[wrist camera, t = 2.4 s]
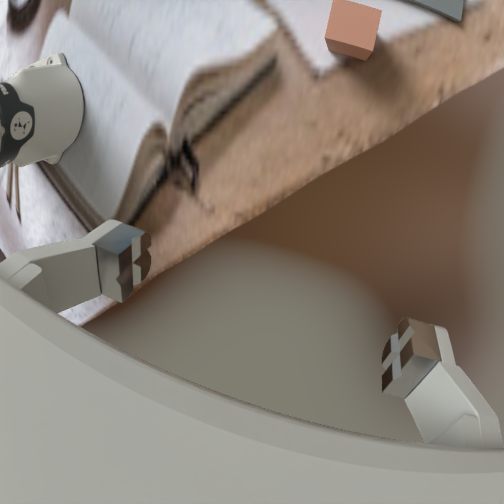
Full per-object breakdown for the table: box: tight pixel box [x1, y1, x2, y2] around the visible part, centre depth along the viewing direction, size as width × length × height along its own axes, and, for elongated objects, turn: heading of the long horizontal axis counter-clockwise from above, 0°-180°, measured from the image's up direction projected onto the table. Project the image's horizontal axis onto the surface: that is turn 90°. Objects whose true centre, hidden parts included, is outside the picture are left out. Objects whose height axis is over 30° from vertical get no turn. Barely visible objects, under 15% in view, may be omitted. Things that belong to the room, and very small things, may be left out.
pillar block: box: [325, 0, 382, 61], centre depth 22 cm, size 4×4×8 cm
